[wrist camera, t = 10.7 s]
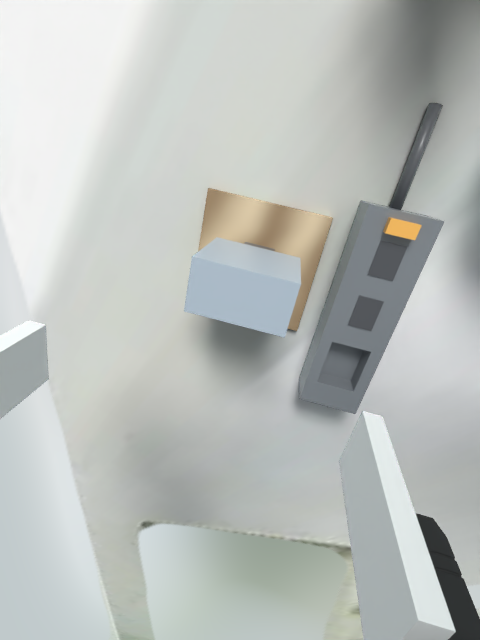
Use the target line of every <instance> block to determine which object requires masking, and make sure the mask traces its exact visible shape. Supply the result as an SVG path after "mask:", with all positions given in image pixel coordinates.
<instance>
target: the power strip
mask: <svg viewBox="0 0 480 640" xmlns="http://www.w3.org/2000/svg"><path fill="white" fill-rule="evenodd" d="M442 106H443V105H441V104H438V103H430V104H429V106H428V108H427V111H426V113H425V116H424V119H423V121H422V124H421V126H420V129H419V132H418V134H417V137H416V139H415V142H414V145H413V147H412V150H411V152H410V155H409V158H408V160H407V163H406V165H405V168H404V171H403V173H402V176H401V178H400V181H399V183H398V186H397V189H396V191H395V194H394V196H393V199H392V202H391V204H390V207H387V206H383V205H378V204H374V203H370V202H365V201H361V202H360V205H359V207H358V210H357V213H356V216H355V219H354V222H353V225H352V228H351V230H350V233H349V236H348V239H347V242H346V245H345V248H344V251H343V253H342V256H341V259H340V262H339V265H338V268H337V271H336V274H335V276H334V279H333V282H332V285H331V288H330V291H329V294H328V297H327V300H326V302H325V305H324V308H323V311H322V314H321V317H320V320H319V323H318V325H317V328H316V331H315V334H314V337H313V340H312V343H311V346H310V348H309V351H308V354H307V357H306V360H305V363H304V366H303V369H302V372H301V374H300V377H299V399H302V400H305V401H309V402H313V403H316V404H320V405H324V406H327V407H331V408H335V409H338V410H342V411H346V412H349V413H353V414H356V412H357V409H358V407H359V405H360V403H361V401H362V399H363V396H364V394H365V392H366V390H367V388H368V386H369V383H370V381H371V379H372V377H373V375H374V373H375V371H376V368H377V366H378V364H379V362H380V360H381V358H382V355H383V353H384V351H385V349H386V347H387V345H388V342H389V340H390V338H391V336H392V334H393V332H394V329H395V327H396V325H397V323H398V321H399V319H400V316H401V314H402V312H403V310H404V308H405V306H406V304H407V301H408V299H409V297H410V295H411V293H412V291H413V288H414V286H415V284H416V282H417V280H418V278H419V275H420V273H421V271H422V269H423V267H424V265H425V262H426V260H427V258H428V256H429V254H430V252H431V249H432V247H433V245H434V243H435V241H436V239H437V236H438V234H439V232H440V230H441V228H442V226H443V224H444V221H441V220H438V219H435V218H432V217H429V216H425V215H421V214H417V213H412V212H408V211H404V210H401V208H402V206H403V203H404V201H405V198H406V196H407V194H408V191H409V189H410V186H411V184H412V181H413V179H414V176H415V174H416V171H417V169H418V166H419V164H420V161H421V159H422V156H423V154H424V151H425V149H426V146H427V144H428V141H429V139H430V136H431V134H432V131H433V129H434V126H435V124H436V121H437V119H438V116H439V114H440V111H441V109H442Z"/></svg>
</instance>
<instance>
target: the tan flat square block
mask: <svg viewBox="0 0 480 640" xmlns="http://www.w3.org/2000/svg"><path fill="white" fill-rule="evenodd" d="M332 219H333V218H332V217H328V216H324V215H320V214H315V213H311V212H307V211H303V210H299V209H294V208H290V207H286V206H282V205H278V204H273V203H269V202H265V201H261V200H257V199H253V198H248V197H244V196H240V195H236V194H232V193H227V192H223V191H219V190H215V189H211V188H208V192H207V199H206V205H205V211H204V218H203V224H202V231H201V237H200V244H199V250H198V252H199V251H200V250H201V249H202V248H204V247H205V246H206V245H208V244H209V243H210V242H211V241H213V240H214V239H215V238H216V237H218V238H222V239H226V240H230V241H234V242H239V243H243V244H244V243H245V242H249V243H253V244H257V245H261V246H265V247H269V248H273V249H275V252H279V253H283V254H287V255H291V256H295V257H299V258H300V261H301V286H300V289H299V292H298V295H297V299H296V302H295V305H294V309H293V312H292V315H291V318H290V322H289V325H288V328H287V329H291V330H295V331H297V329H298V326H299V323H300V320H301V316H302V313H303V310H304V307H305V304H306V301H307V298H308V294H309V291H310V288H311V285H312V282H313V279H314V276H315V273H316V269H317V266H318V263H319V260H320V257H321V254H322V251H323V248H324V244H325V241H326V238H327V235H328V232H329V229H330V226H331V223H332Z"/></svg>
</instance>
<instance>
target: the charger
mask: <svg viewBox="0 0 480 640" xmlns="http://www.w3.org/2000/svg"><path fill="white" fill-rule="evenodd" d="M300 286H301V261H300V258H299V257H295V256H291V255H287V254H283V253H279V252H275V249H273V248H269V247H265V246H261V245H257V244H253V243H249V242H245V243H244V244H243V243H239V242H234V241H230V240H226V239H222V238H218V237H216V238H215V239H214V240H213V241H211V242H210V243H209V244H208V245H206V246H205V247H204V248H202V249H201V250H200V251H199V252H197V253H196V254H195V255H193V256H192V261H191V268H190V275H189V281H188V288H187V295H186V301H185V308H184V311H185V312H189V313H193V314H197V315H201V316H204V317H208V318H212V319H216V320H220V321H223V322H227V323H231V324H235V325H239V326H242V327H246V328H250V329H254V330H258V331H261V332H265V333H269V334H273V335H277V336H281V337H284V338H285V335H286V332H287V328H288V325H289V322H290V318H291V315H292V312H293V309H294V305H295V302H296V299H297V295H298V292H299V289H300Z"/></svg>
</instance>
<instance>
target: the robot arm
mask: <svg viewBox="0 0 480 640" xmlns="http://www.w3.org/2000/svg"><path fill="white" fill-rule="evenodd" d="M48 379H49V375H48V356H47V338H46V325H44V324H41V323H37V322H33V321H29V320H28V321H26V322H24V323H22V324H21V325H19V326H17V327H15V328H14V329H11V330H10V331H8V332H6V333H4V334H2V335H0V419H1V418H2V417H3V416H4V415H6V414H7V413H8V412H9V411H11V410H12V409H13V408H14V407H15V406H17V405H18V404H19V403H20V402H22V401H23V400H24V399H25V398H26V397H28V396H29V395H30V394H31V393H32V392H33V391H35V390H36V389H37V388H38V387H40V386H41V385H42V384H43V383H44V382H46V381H47V380H48ZM339 464H340V471H341V479H342V486H343V493H344V501H345V508H346V515H347V522H348V530H349V537H350V544H351V551H352V559H353V566H354V573H355V580H356V588H357V595H358V602H359V610H360V617H361V624H362V631H363V639H364V640H480V619H479V616H478V614H477V611H476V609H475V606H474V604H473V601H472V599H471V596H470V594H469V591H468V589H467V586H466V584H465V581H464V579H463V578H462V577H461V575H462V574H461V572H460V569H459V567H458V564H457V562H456V561H455V560H454V558H455V557H454V554H453V552H452V549H451V547H450V544H449V542H448V539H447V537H446V536H445V534H444V533H443V532H442V530H441V529H440V527H439V526H438V525H437V523H436V522H435V521H434V519H433V518H430V517H427V516H423V515H420V514H416V513H415V510H414V508H413V505H412V502H411V499H410V496H409V493H408V490H407V487H406V484H405V481H404V478H403V475H402V472H401V469H400V466H399V464H398V461H397V458H396V455H395V452H394V449H393V446H392V443H391V440H390V437H389V434H388V431H387V428H386V425H385V422H384V420H383V417H382V416H380V415H376V414H372V413H369V412H365V411H362V413H361V415H360V417H359V420H358V422H357V424H356V426H355V428H354V430H353V432H352V435H351V437H350V439H349V441H348V443H347V445H346V447H345V449H344V452H343V454H342V456H341V458H340V460H339Z"/></svg>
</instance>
